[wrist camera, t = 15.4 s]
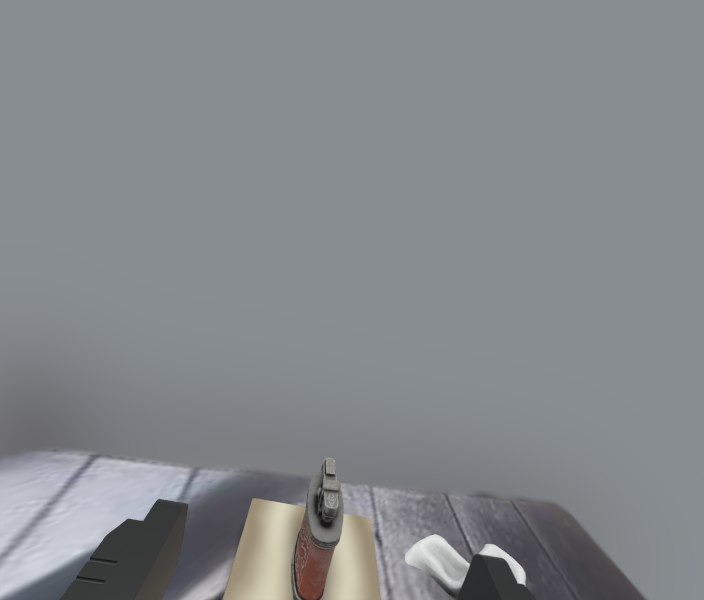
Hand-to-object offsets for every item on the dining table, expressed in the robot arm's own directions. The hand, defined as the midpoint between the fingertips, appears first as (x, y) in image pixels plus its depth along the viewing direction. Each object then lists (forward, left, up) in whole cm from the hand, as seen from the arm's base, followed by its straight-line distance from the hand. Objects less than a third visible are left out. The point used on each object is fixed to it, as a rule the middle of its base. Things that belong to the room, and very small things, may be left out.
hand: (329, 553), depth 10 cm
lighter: (-3, -20, -24) cm, 32 cm away
